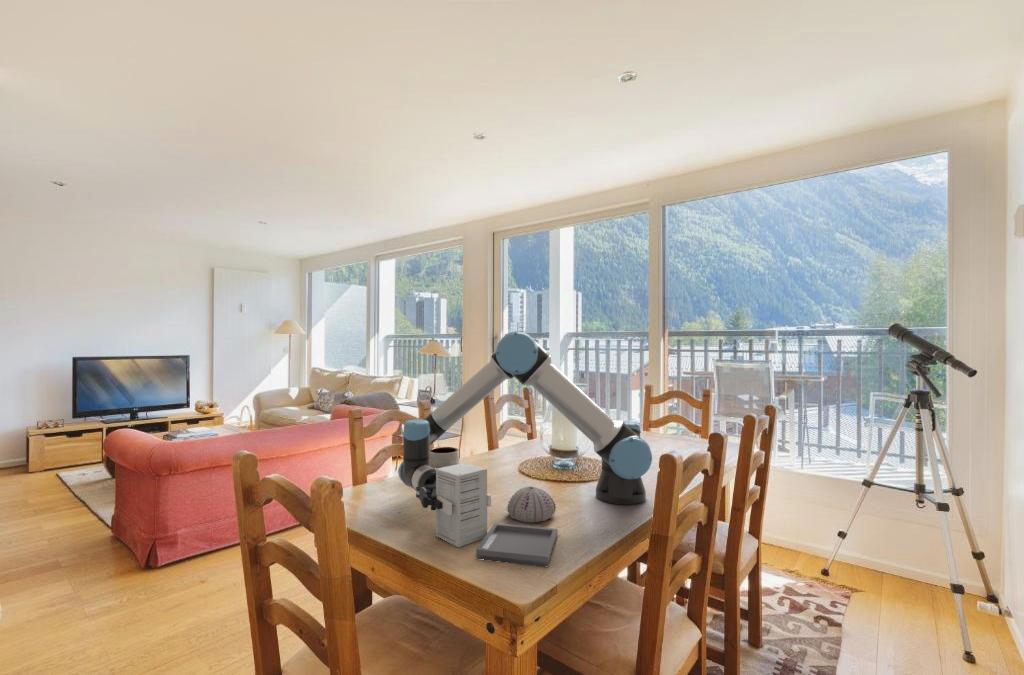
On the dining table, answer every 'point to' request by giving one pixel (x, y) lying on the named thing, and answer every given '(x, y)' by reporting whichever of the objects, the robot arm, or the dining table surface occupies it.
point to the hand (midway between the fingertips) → (470, 505)
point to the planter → (443, 457)
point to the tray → (518, 544)
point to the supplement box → (462, 503)
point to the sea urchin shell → (531, 505)
